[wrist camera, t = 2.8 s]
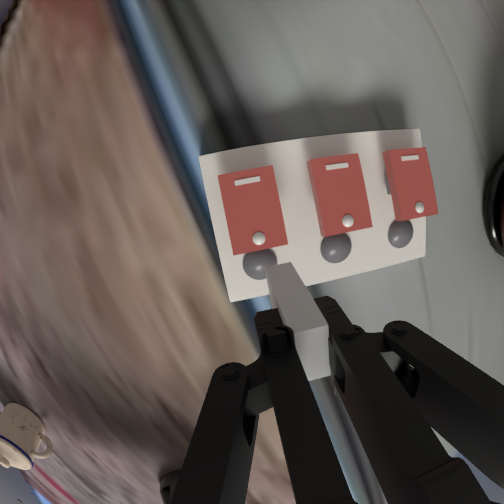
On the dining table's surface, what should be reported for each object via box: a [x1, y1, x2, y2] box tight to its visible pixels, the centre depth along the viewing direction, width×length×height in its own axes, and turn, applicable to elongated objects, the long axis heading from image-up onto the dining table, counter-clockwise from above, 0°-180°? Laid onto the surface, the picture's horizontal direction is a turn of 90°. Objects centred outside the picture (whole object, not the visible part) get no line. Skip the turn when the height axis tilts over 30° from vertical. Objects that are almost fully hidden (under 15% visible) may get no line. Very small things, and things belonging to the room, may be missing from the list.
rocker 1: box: [218, 165, 288, 256], centre depth 25 cm, size 4×6×3 cm
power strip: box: [198, 129, 426, 302], centre depth 30 cm, size 22×14×3 cm, turn 100°
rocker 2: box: [306, 153, 373, 237], centre depth 26 cm, size 4×6×3 cm
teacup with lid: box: [0, 403, 52, 470], centre depth 32 cm, size 12×9×12 cm
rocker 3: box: [383, 147, 438, 221], centre depth 26 cm, size 4×6×3 cm
